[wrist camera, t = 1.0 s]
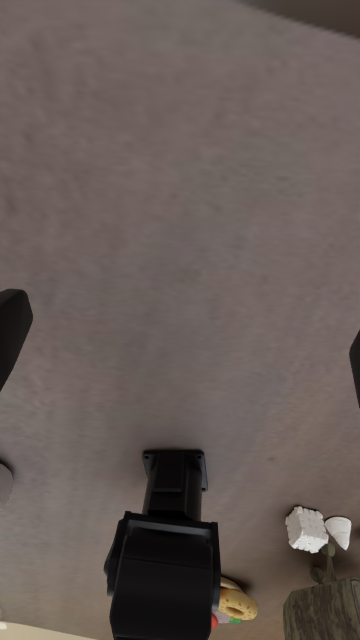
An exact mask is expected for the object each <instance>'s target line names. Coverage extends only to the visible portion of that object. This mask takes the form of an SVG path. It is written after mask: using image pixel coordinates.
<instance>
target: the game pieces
mask: <svg viewBox="0 0 360 640" xmlns="http://www.w3.org/2000/svg"><path fill="white" fill-rule="evenodd" d="M322 518H323V516H322V515H321V514H320V513H319V512H318V511H315V512H314V511H313V510H309V511H308V509H305V508H304V509H302V507H300V506H299V507H295V508H294V510H293V511H292V514H290V515H289V517H286V522H285V524H286V525H287V526H288V527H287V530H288V532H289V533H288V536H289V539H290V540H289V544H290V545H291V546H292V547H293V549H296V548H297V547H298V549H301V550H303V549H304V550H305V551H309V550H310V552H311V553H316V552H319V551H318V549H320V548H321V546H323V545H325V544H324V543H326V544H327V543H328V537H329V536H328V535H327V534H325V533H326V529H327V530H328V531H329V533H330V534H331V535H332V536H333V537H334V538H335V539H336V541H337V543H338V544H339V545H340V546H341V547H342V548H343V549H345V550H346V549H347V548H348V546H349V536H350V531H351V521H350V520H349V519H347V518H344V517H333V518H330V519H328V520H326V522H325V524H324V522H323V520H322ZM324 525H325V527H326V529H325V527H323V526H324Z"/></svg>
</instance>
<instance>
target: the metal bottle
mask: <svg viewBox="0 0 360 640" xmlns="http://www.w3.org/2000/svg"><path fill="white" fill-rule="evenodd" d="M12 488H13V477H12V474H11V472H10V471H9V470H8V469H7V468H6V467H5V466H4V465H2V464H0V511H1V509H2V508H3V506H4V505H5V503H6V502H7V500H8V499H9V496H10V494H11V491H12Z"/></svg>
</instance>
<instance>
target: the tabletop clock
mask: <svg viewBox="0 0 360 640" xmlns="http://www.w3.org/2000/svg"><path fill="white" fill-rule="evenodd" d="M324 544H325V545H323V546H321V550H322V552H323V554H324V555H325V556H327V577H326V580H325V583H324V584H323V582H322V580H323V573H322V571H321V570H320V569H319V568H318V567H313V568H312V569H311V571H310V574H311V578H312V579H313V580H314V581H315V582H318V583H319V585H317V586H312V587H308V588H304V589H300V590H296V591H293V592H291V594H290V595H289V597H288V598H287V600H286V602H285V603H284V605H283V623H284V634H285V640H360V579H358V578H356V577H349V578H345V579H341V580H336V577H335V574H334V568H333V563H332V558H331V557H332V556H334V555H335V547H334V545H333V544H332V543H331V542H330V541H328V543H327V544H326V543H324Z"/></svg>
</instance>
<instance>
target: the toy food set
mask: <svg viewBox="0 0 360 640" xmlns="http://www.w3.org/2000/svg"><path fill="white" fill-rule="evenodd" d="M257 608H258V605H257V603H256V601H255V600H254V599H252V598H251V597H249V596H248V595H246V594H245V593H244V592H243V591H242V590H241V588H240V587H239V586H238V585H237V584H236V583H234V582H233V581H231V580H229V579H226V578H224V577H221V589H220V602H219V608H218V611H213V610H212V627H211V629H212V628H215V627H216V626H217V623H218V622H219V623H227V622H230V623H240V622H241V621H242V619H243V620H251V619H253V618H255V617H256V615H257Z"/></svg>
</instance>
